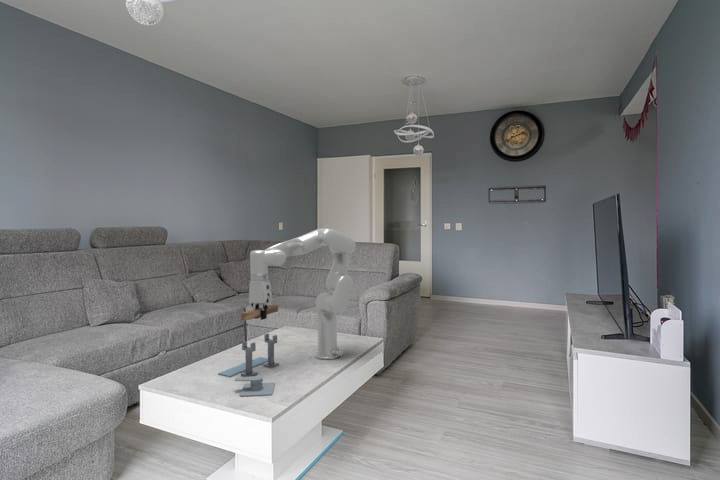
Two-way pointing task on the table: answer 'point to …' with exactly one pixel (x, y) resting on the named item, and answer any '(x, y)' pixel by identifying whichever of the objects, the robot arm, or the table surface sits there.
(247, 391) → the shower valve
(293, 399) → the table surface
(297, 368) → the table surface
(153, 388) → the table surface
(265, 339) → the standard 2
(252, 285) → the robot arm
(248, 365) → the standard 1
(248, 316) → the rail
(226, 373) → the mat
